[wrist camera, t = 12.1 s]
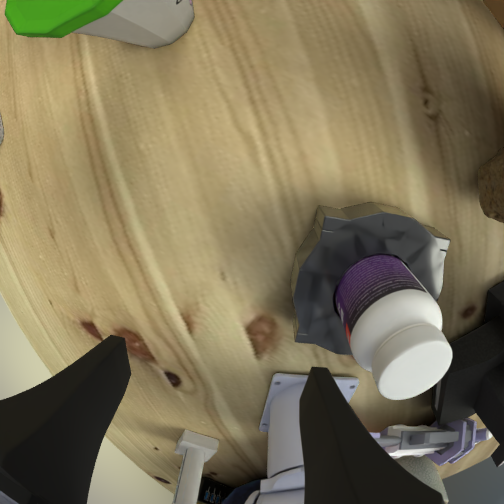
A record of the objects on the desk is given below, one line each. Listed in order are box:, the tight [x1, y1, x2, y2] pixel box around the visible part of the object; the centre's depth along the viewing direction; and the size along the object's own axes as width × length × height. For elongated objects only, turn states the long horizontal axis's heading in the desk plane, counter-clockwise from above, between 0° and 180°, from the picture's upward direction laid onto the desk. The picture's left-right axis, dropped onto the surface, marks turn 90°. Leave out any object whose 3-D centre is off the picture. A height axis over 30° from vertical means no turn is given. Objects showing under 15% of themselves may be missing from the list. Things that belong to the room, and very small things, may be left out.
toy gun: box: [369, 417, 492, 466], centre depth 24 cm, size 7×28×8 cm
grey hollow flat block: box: [290, 202, 450, 355], centre depth 19 cm, size 11×11×2 cm
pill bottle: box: [333, 253, 452, 400], centre depth 16 cm, size 5×5×10 cm
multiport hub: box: [197, 478, 234, 504], centre depth 34 cm, size 4×11×2 cm
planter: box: [393, 455, 448, 504], centre depth 27 cm, size 12×12×11 cm
